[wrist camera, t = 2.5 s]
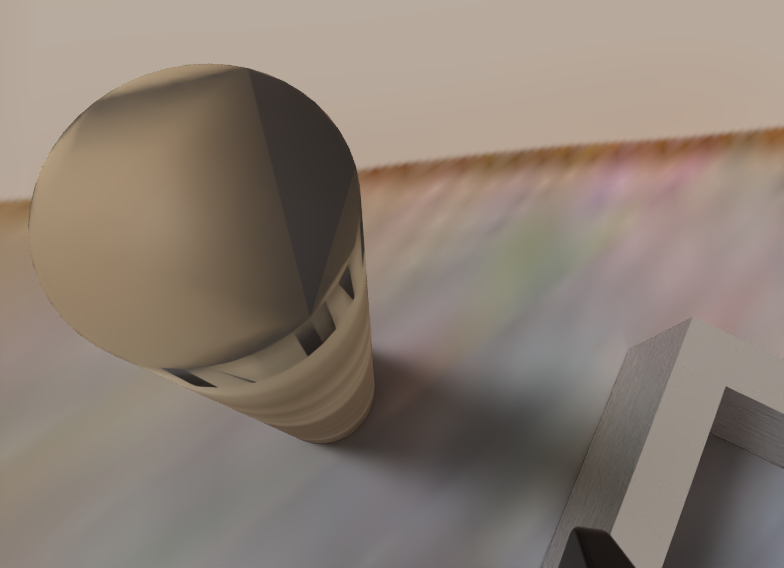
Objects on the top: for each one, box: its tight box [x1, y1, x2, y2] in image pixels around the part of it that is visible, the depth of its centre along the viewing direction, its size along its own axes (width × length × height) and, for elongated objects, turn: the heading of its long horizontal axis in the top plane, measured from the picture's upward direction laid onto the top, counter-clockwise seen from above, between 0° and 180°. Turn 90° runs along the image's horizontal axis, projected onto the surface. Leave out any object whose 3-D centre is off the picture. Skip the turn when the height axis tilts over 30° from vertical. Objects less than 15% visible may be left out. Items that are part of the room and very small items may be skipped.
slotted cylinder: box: [28, 64, 375, 444], centre depth 12 cm, size 3×3×13 cm
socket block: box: [541, 317, 784, 568], centre depth 15 cm, size 7×7×4 cm
